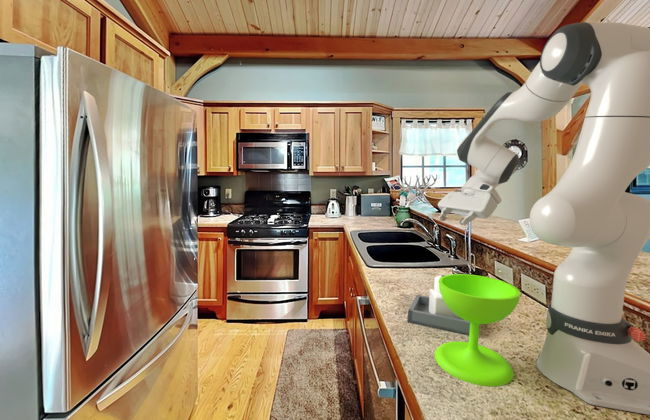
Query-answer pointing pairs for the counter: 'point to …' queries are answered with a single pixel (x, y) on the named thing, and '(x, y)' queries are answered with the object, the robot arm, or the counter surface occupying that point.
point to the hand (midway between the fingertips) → (451, 221)
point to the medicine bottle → (439, 301)
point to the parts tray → (435, 317)
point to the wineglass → (476, 327)
